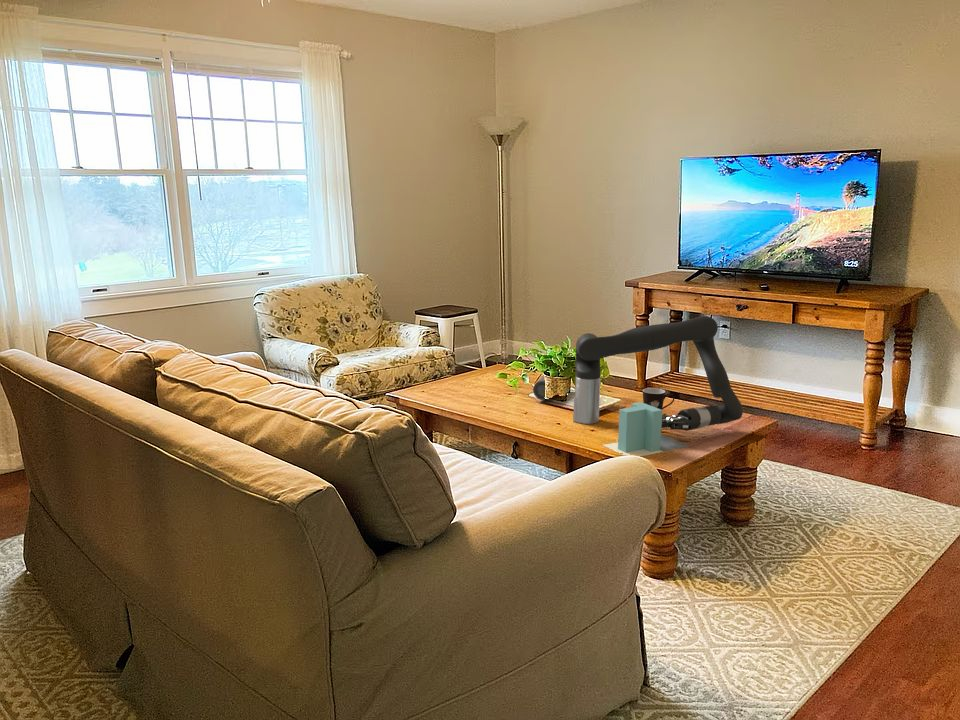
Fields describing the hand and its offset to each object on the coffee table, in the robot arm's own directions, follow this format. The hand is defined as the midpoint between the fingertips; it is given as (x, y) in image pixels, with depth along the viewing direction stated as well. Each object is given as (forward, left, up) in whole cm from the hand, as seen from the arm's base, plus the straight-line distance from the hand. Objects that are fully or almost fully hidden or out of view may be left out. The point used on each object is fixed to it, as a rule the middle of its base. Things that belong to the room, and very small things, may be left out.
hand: (655, 425), depth 270 cm
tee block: (-6, -6, -7) cm, 11 cm away
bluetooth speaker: (-47, +52, -8) cm, 71 cm away
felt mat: (-3, -2, -7) cm, 8 cm away
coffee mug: (-2, +36, -8) cm, 37 cm away
